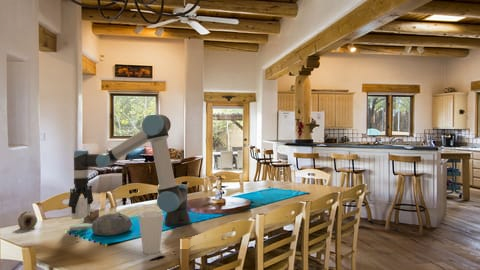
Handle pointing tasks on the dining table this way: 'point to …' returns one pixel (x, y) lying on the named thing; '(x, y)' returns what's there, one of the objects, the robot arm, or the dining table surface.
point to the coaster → (81, 226)
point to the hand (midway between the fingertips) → (81, 216)
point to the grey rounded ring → (27, 220)
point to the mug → (81, 208)
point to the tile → (86, 221)
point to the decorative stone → (111, 224)
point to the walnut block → (92, 215)
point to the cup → (151, 231)
